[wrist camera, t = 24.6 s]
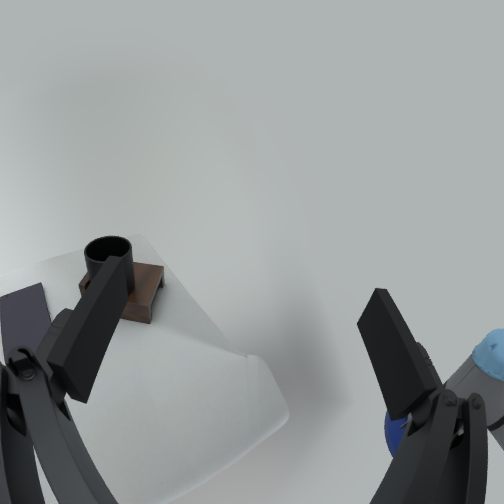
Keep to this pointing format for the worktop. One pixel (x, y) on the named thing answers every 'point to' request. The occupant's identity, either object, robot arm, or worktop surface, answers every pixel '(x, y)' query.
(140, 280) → the wooden stand
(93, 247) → the mug
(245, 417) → the worktop surface
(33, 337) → the notebook
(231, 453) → the worktop surface
